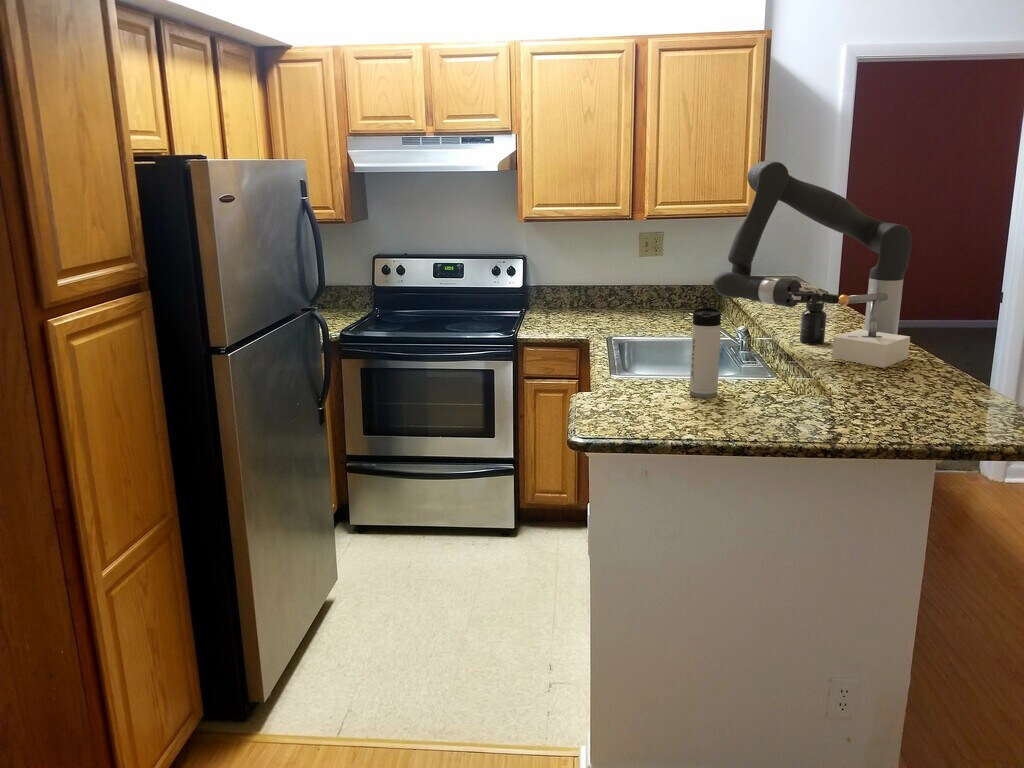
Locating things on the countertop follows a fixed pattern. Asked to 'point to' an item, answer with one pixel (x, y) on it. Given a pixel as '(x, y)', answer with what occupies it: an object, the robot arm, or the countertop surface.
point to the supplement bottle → (813, 324)
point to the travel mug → (705, 352)
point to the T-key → (874, 310)
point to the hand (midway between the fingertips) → (837, 299)
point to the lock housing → (871, 348)
